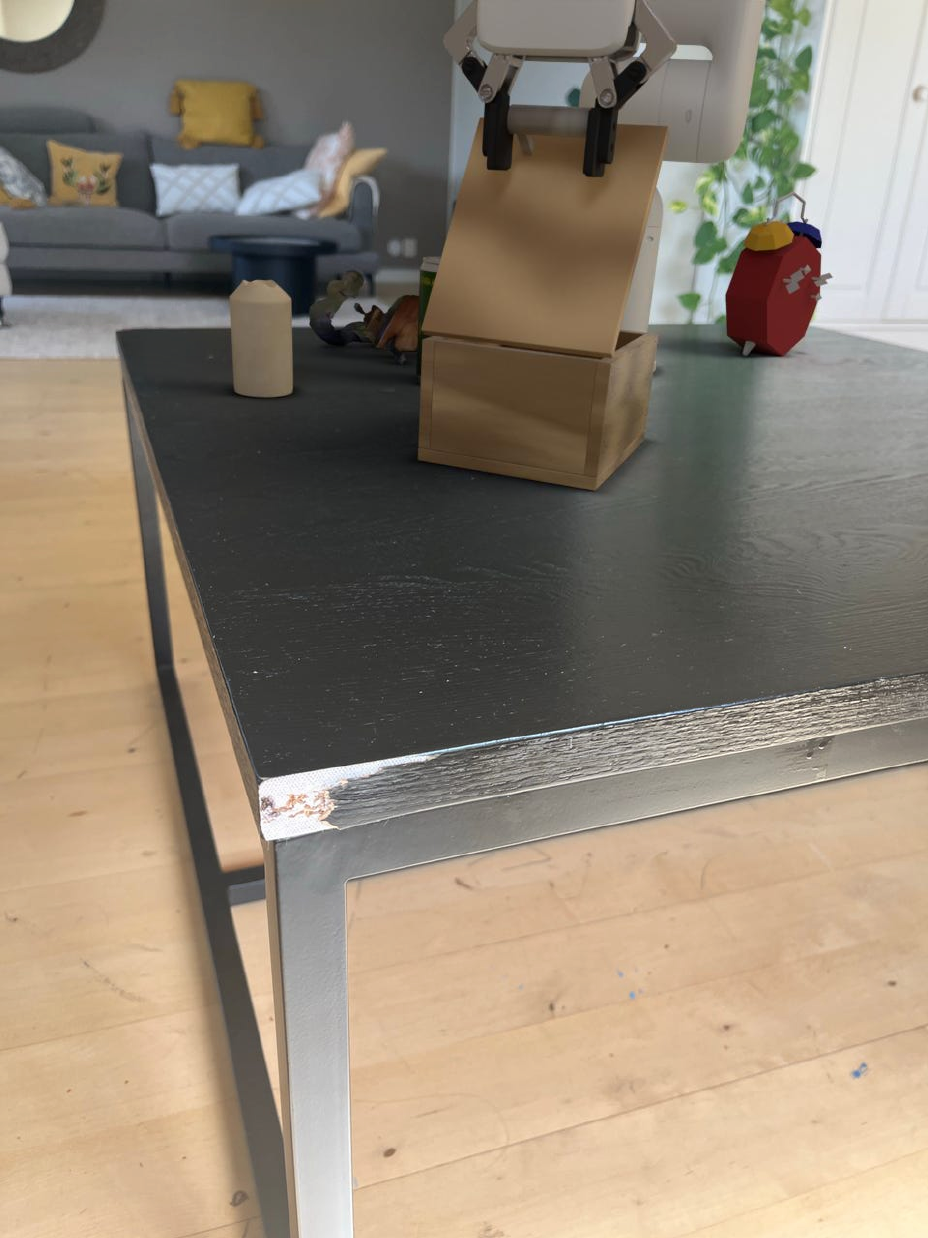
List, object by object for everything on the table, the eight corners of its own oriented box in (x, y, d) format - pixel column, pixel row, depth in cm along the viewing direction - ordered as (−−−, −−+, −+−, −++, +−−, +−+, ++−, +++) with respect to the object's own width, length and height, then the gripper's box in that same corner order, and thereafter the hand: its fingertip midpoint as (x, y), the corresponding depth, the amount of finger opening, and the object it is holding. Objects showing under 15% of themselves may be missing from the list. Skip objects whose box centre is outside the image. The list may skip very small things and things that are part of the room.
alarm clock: (768, 344, 136) (797, 190, 127) (825, 354, 131) (859, 195, 122) (714, 353, 126) (741, 187, 117) (773, 364, 121) (807, 191, 112)
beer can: (474, 386, 98) (482, 262, 93) (425, 387, 96) (430, 261, 91) (457, 375, 103) (463, 257, 97) (409, 376, 101) (413, 255, 96)
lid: (482, 123, 71) (462, 74, 66) (669, 132, 66) (663, 81, 61) (424, 335, 69) (399, 300, 64) (612, 359, 64) (601, 324, 60)
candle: (280, 400, 88) (277, 285, 83) (224, 394, 88) (218, 280, 84) (301, 388, 92) (299, 280, 88) (247, 382, 93) (243, 275, 89)
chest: (490, 418, 86) (498, 314, 82) (643, 441, 82) (658, 333, 78) (417, 460, 73) (421, 339, 69) (595, 491, 68) (611, 363, 64)
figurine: (341, 379, 118) (288, 337, 106) (357, 312, 119) (305, 264, 107) (450, 390, 112) (406, 347, 101) (466, 320, 113) (424, 269, 101)
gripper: (728, -147, 57) (681, 181, 65) (463, -136, 63) (449, 166, 71) (708, -187, 51) (659, 181, 59) (415, -171, 56) (406, 164, 64)
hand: (545, 170), depth 65 cm, fingers closed on lid, 6 cm apart
